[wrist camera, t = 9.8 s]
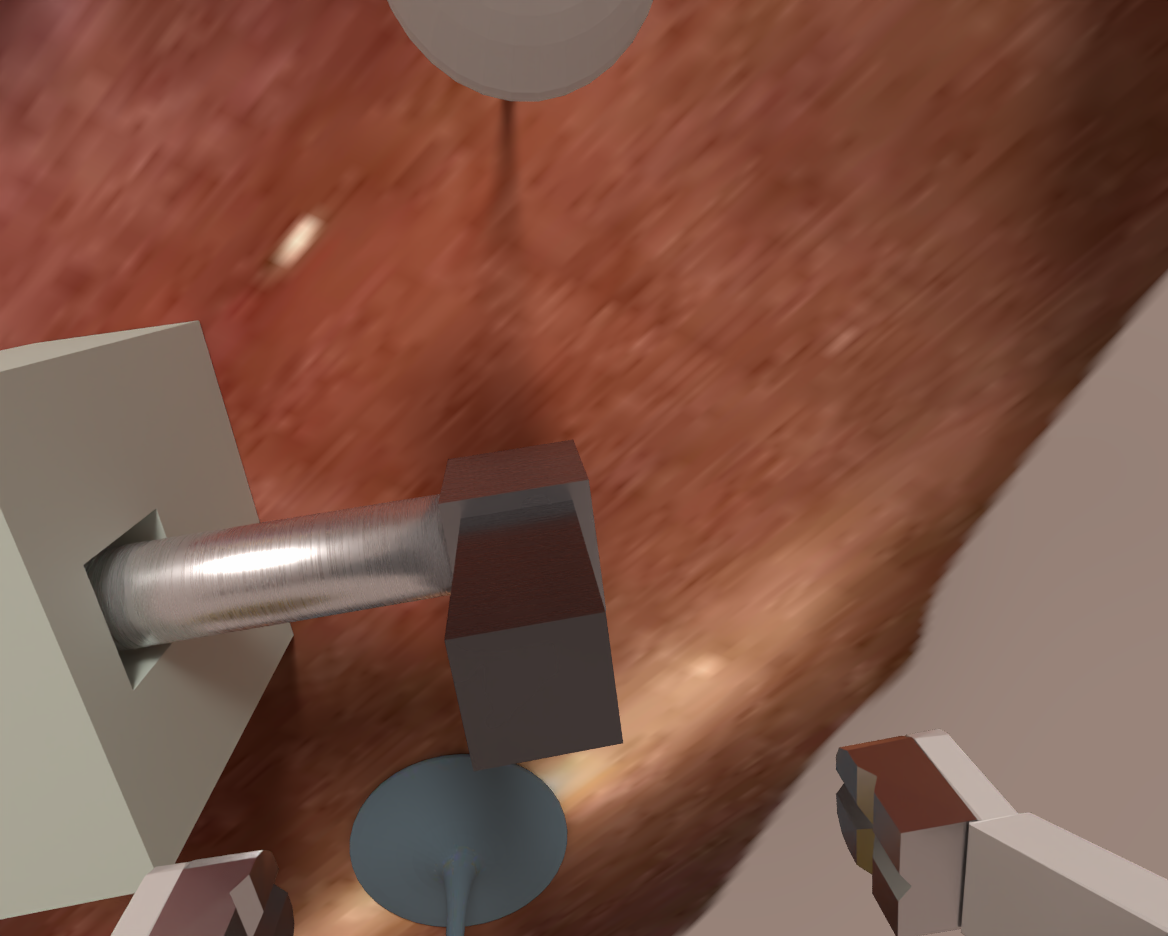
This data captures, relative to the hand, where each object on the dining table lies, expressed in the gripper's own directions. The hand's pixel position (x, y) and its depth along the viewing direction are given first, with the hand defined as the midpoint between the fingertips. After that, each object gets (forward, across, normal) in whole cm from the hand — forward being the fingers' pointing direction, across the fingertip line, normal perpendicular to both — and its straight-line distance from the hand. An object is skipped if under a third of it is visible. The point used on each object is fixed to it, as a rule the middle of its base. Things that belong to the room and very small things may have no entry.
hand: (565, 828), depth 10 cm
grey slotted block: (+20, +15, 0) cm, 25 cm away
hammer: (+13, +11, 0) cm, 17 cm away
